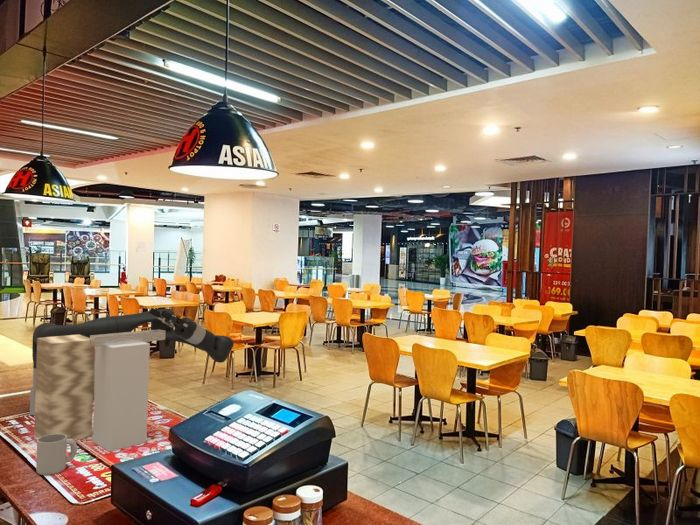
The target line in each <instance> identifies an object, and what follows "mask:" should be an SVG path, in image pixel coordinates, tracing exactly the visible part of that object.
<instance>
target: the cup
mask: <svg viewBox="0 0 700 525" xmlns="http://www.w3.org/2000/svg"><path fill="white" fill-rule="evenodd" d="M68 445H69V446H70V453H69V455H68V456H67V450H68V448H67V447H68ZM77 451H78V445H77V442H76V440H73V439H67V436H66V435H64V434H50V435H45V436H42V437H40V438H37V439H36V463H35V470H36V473H37V474H38V475H41V476H51V475H56V474H59V473H62V472H63V471H65V469H66V466H67V463H69V462H71V461H73V460H74V458H75V457H76V455H77Z"/></svg>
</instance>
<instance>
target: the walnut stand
mask: <svg viewBox="0 0 700 525" xmlns="http://www.w3.org/2000/svg"><path fill="white" fill-rule="evenodd" d="M94 353H95V347H94V346H91V345H90V338H88V337H85V336H82V335H79V334H78V335H66V336H54V337H43V338H37V361H36V394H35V415H34V429H33V430H34V431H33V432H34V435H33V436H35V437H36V438H37V437H38V438H40V437H42V436H45V435H50V434H64V435H66V436H67V439H73V440H74V441H76V440H75V439H78V440H83V439H86V437H87V438H91V437H93V416H94V398H93V384H94ZM38 438H37V439H38Z"/></svg>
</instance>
